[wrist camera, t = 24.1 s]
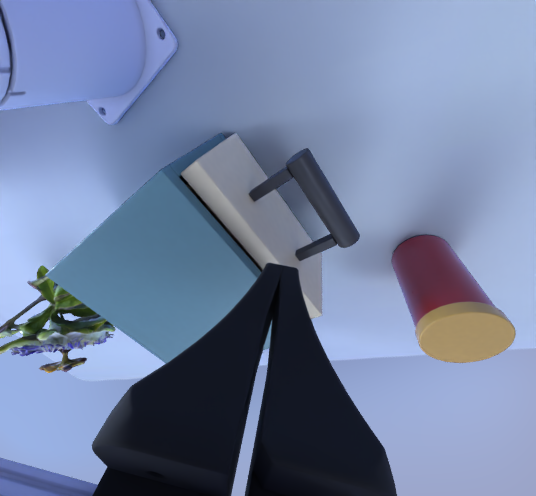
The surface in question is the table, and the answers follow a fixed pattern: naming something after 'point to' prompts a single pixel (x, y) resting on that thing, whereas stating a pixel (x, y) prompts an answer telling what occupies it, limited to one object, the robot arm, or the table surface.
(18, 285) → the table surface
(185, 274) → the cabinet
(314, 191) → the drawer
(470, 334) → the tea tin
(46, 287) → the passion flower
